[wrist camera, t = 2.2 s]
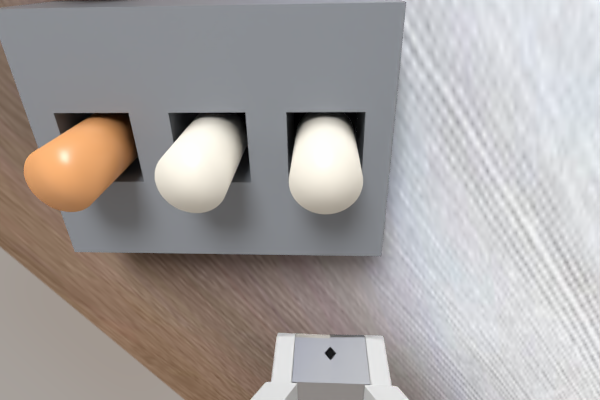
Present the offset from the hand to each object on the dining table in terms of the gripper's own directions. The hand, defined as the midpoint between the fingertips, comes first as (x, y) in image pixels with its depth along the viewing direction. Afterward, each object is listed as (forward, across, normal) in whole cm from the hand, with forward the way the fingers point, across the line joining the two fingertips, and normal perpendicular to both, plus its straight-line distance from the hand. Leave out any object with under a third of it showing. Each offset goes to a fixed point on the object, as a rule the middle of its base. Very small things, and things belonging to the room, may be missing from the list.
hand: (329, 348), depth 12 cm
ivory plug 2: (+18, 0, 0) cm, 18 cm away
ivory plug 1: (+18, +7, 0) cm, 19 cm away
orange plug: (+18, +14, 0) cm, 23 cm away
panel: (+21, +7, 0) cm, 22 cm away
